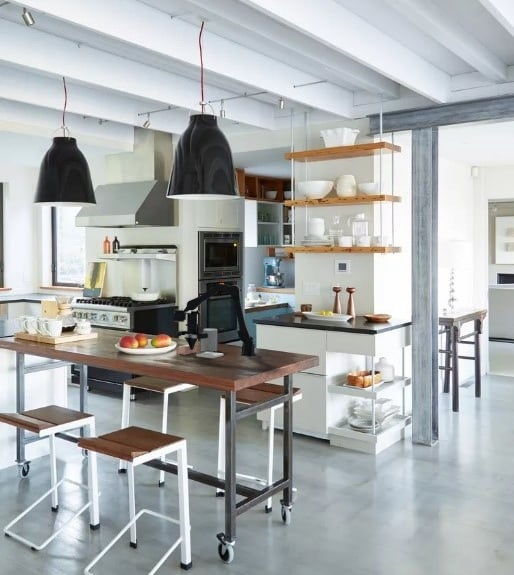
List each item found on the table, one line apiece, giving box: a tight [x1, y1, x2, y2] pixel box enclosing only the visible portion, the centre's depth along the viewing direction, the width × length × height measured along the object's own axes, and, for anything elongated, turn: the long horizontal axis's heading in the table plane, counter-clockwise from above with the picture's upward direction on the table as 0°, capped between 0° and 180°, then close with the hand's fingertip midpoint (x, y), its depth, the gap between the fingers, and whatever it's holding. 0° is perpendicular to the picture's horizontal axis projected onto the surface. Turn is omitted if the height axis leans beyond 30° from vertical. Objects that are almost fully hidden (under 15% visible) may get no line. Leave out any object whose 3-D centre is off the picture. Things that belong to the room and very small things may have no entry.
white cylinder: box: [200, 327, 218, 353], centre depth 371 cm, size 10×10×12 cm
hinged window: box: [196, 351, 224, 359], centre depth 353 cm, size 11×10×1 cm
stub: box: [177, 344, 197, 355], centre depth 361 cm, size 4×10×4 cm, turn 149°
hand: (192, 349), depth 359 cm, fingers closed
